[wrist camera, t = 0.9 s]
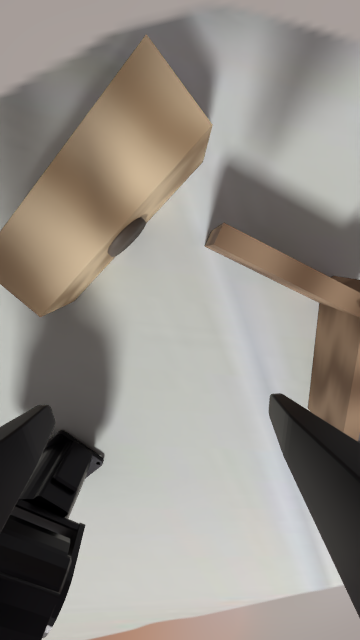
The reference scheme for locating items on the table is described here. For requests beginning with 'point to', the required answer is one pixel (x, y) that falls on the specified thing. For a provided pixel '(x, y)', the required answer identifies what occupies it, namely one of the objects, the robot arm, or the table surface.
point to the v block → (332, 327)
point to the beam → (104, 183)
